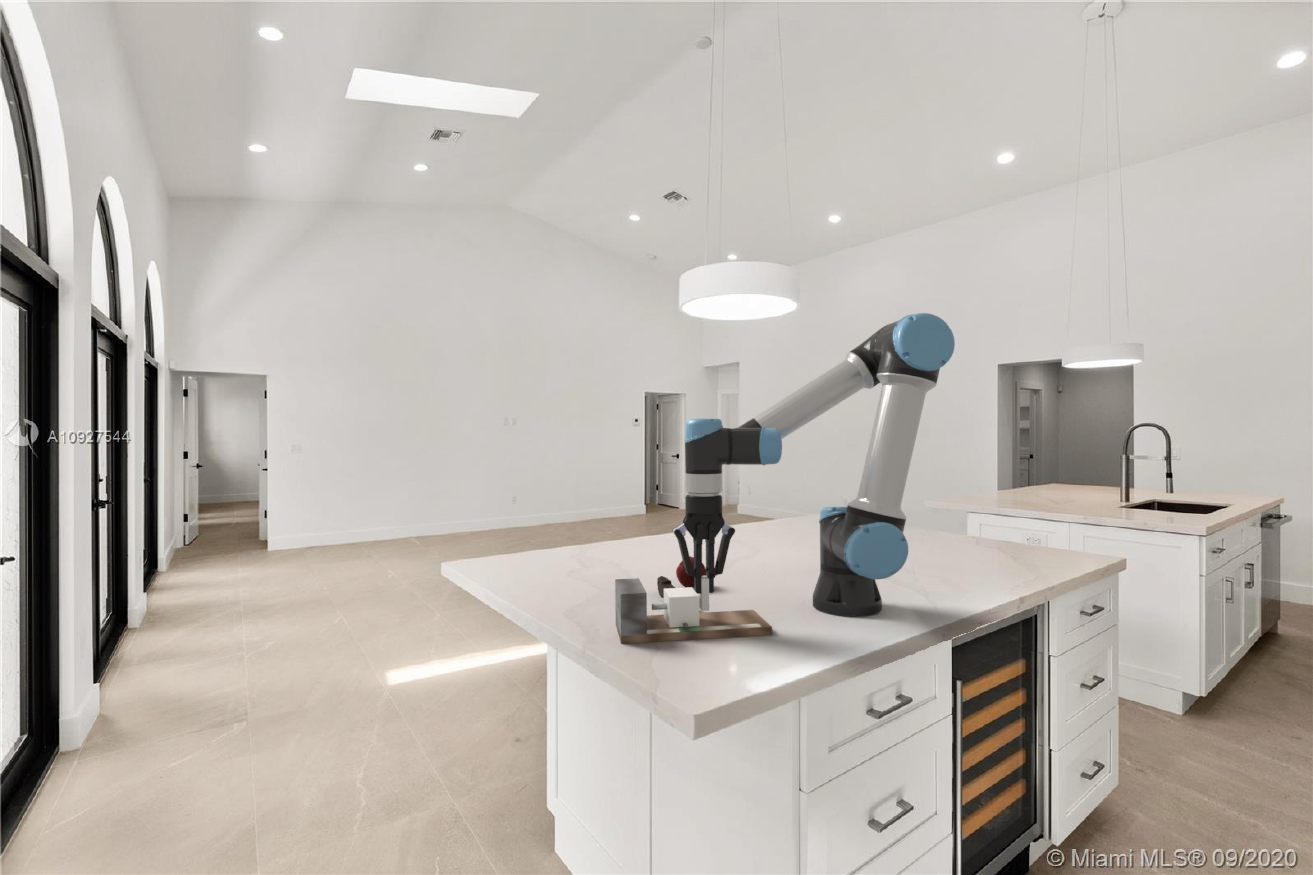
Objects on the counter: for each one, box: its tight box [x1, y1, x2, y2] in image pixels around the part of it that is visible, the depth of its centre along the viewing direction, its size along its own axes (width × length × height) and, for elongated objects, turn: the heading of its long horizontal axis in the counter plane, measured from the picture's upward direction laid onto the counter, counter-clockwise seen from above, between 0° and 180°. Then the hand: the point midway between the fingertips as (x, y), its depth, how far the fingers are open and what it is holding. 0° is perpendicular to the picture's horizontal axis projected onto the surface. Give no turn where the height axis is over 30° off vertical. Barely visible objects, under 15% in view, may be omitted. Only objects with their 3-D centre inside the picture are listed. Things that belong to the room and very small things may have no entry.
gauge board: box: [614, 577, 773, 645], centre depth 128 cm, size 30×12×10 cm, turn 99°
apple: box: [675, 556, 706, 589], centre depth 161 cm, size 7×8×8 cm
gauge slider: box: [651, 587, 700, 629], centre depth 126 cm, size 9×10×6 cm
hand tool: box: [656, 575, 676, 599], centre depth 149 cm, size 19×4×5 cm, turn 16°
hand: (704, 608), depth 128 cm, fingers closed
